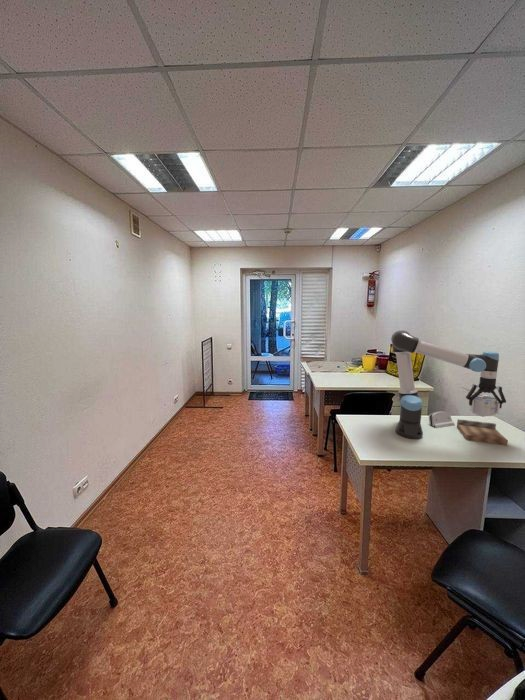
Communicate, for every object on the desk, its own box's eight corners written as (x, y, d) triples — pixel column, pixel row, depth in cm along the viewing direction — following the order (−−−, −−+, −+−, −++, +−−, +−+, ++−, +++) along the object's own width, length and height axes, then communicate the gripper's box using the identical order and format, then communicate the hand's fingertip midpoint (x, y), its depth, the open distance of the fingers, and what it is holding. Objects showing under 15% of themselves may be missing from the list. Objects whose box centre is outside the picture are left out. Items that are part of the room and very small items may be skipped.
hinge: (435, 428, 179) (432, 412, 181) (429, 427, 184) (426, 412, 186) (455, 425, 184) (451, 410, 186) (448, 424, 188) (445, 410, 190)
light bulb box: (484, 411, 170) (486, 394, 168) (496, 415, 164) (498, 398, 162) (471, 413, 167) (473, 396, 166) (483, 417, 161) (485, 399, 159)
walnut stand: (465, 439, 164) (466, 430, 163) (456, 427, 180) (457, 419, 180) (507, 445, 157) (508, 435, 156) (493, 432, 173) (494, 423, 172)
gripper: (466, 377, 163) (462, 411, 166) (516, 380, 154) (512, 416, 157) (461, 374, 170) (458, 407, 173) (510, 377, 161) (505, 412, 164)
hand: (484, 411), depth 165 cm, fingers closed on light bulb box, 12 cm apart
